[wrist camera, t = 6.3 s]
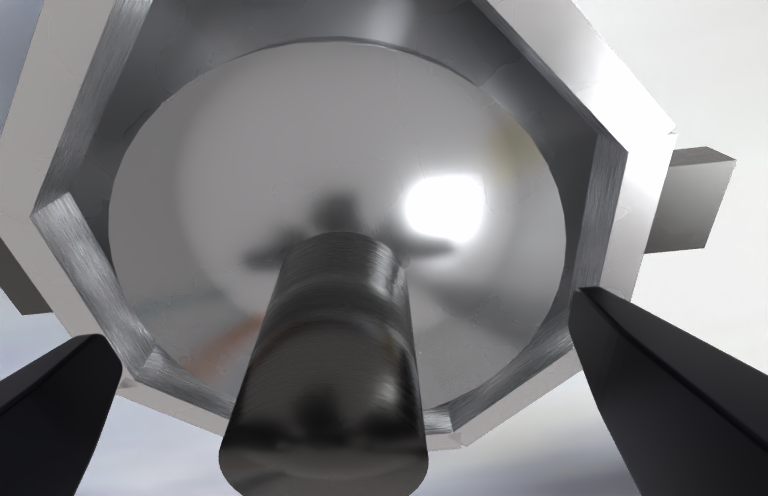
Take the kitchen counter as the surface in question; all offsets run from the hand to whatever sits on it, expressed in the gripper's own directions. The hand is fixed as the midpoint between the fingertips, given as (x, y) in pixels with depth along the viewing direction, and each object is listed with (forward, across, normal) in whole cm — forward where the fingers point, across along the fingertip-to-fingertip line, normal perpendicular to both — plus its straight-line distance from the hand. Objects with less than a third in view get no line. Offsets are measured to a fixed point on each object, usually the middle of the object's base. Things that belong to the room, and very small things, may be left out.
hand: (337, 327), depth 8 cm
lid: (+2, 0, 0) cm, 2 cm away
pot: (+8, 0, 0) cm, 8 cm away
